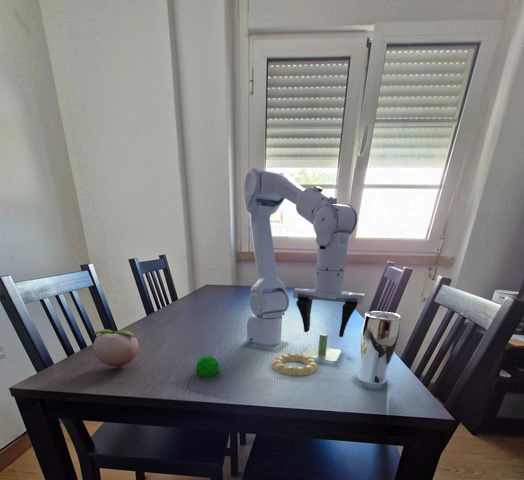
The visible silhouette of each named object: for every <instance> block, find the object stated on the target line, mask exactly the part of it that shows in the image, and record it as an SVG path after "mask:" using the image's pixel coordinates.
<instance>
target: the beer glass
mask: <svg viewBox="0 0 524 480" xmlns="http://www.w3.org/2000/svg"><path fill="white" fill-rule="evenodd" d="M401 321H402V316H401V315H399V314H397V313H394V312H388V311H380V310H379V311H378V310H373V311H366V312H365V315H364V320H363V323H362V328H361V333H360V365H359V370H358V374H357V379H358V380H359V381H361V382H363V383H366V384H370V385H377V386H378V385H379V386H380V385H384V384H385V383H387V374H388V373H387V372H388V368H389V365H390V363H391V360H392V358H393V356H394V354H395V353H394V352H395V351H396V348H397V345H398V340H399V337H400V329H401Z"/></svg>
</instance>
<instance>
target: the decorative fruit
mask: <svg viewBox="0 0 524 480" xmlns="http://www.w3.org/2000/svg"><path fill="white" fill-rule="evenodd" d="M114 327H115V326H114V325H112V326H111V329H101V330H97V331H96V332H94V334H93V336H96V335H97V336H96V337H95V339H94V340H93V345H92V349H93V353H94V355H95V357H96V358H97V359H98V361H99V362H100V363H102V364H103V365H106V366H111V367H117V368H121V367H124V366H126V365H128V364H130V363H131V362H132V361H133V360H134V359H135V358H136V357H137V354H138V352H139V347H140V346H139V342H138V340H137V336H136V335H135V334H134V333H133V332H132V331H129V330H126V329H117V330H116V331H115V328H114Z"/></svg>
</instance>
